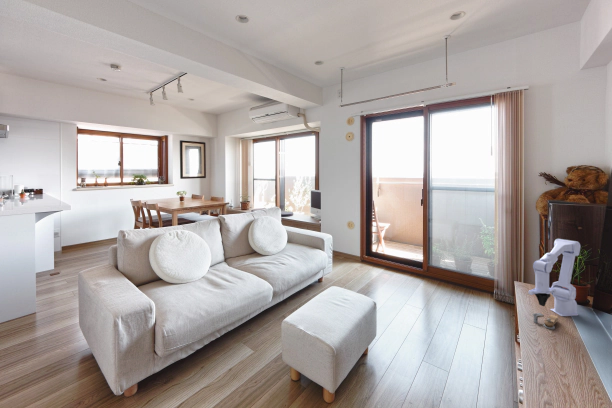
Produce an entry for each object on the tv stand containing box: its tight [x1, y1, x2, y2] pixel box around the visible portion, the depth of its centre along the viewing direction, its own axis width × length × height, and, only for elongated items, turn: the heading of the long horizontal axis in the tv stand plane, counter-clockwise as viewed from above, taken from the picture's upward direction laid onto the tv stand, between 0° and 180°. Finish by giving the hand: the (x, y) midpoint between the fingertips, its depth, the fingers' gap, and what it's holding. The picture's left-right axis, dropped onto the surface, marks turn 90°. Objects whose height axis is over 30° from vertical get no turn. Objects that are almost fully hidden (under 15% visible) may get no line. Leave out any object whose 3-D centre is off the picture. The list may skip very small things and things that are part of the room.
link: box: [544, 314, 559, 327], centre depth 148 cm, size 11×4×4 cm, turn 123°
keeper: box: [532, 312, 545, 324], centre depth 151 cm, size 2×4×5 cm, turn 93°
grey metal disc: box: [542, 322, 556, 331], centre depth 146 cm, size 5×5×1 cm
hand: (542, 305), depth 149 cm, fingers closed
